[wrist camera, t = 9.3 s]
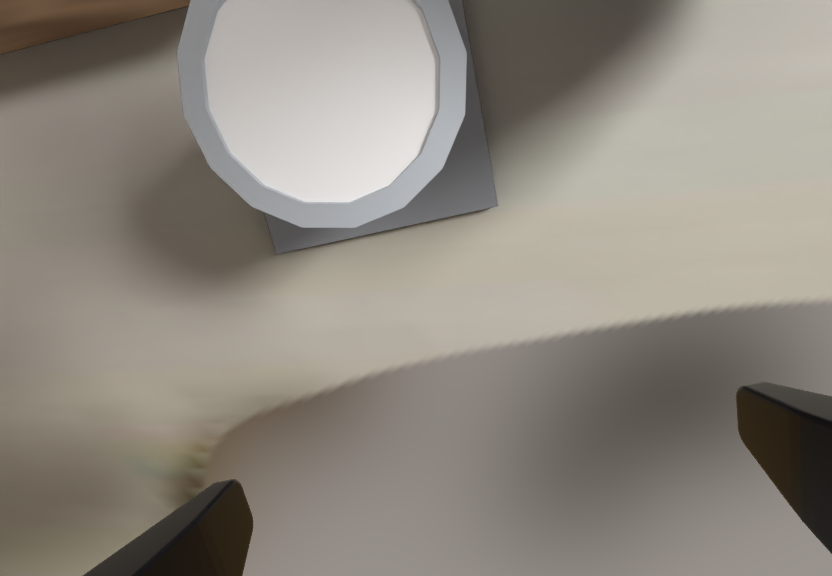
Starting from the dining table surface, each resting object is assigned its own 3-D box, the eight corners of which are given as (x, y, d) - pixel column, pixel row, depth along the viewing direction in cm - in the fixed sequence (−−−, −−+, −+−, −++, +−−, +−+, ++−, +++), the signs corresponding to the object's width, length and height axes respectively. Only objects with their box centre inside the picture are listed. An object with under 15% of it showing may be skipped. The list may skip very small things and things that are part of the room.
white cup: (339, 240, 19) (293, 282, 12) (230, 85, 18) (111, 38, 11) (487, 139, 18) (524, 126, 11) (383, -32, 17) (356, -164, 10)
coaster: (452, -46, 17) (452, -54, 17) (495, 204, 19) (498, 206, 19) (211, 15, 18) (204, 10, 17) (280, 251, 20) (276, 254, 19)
